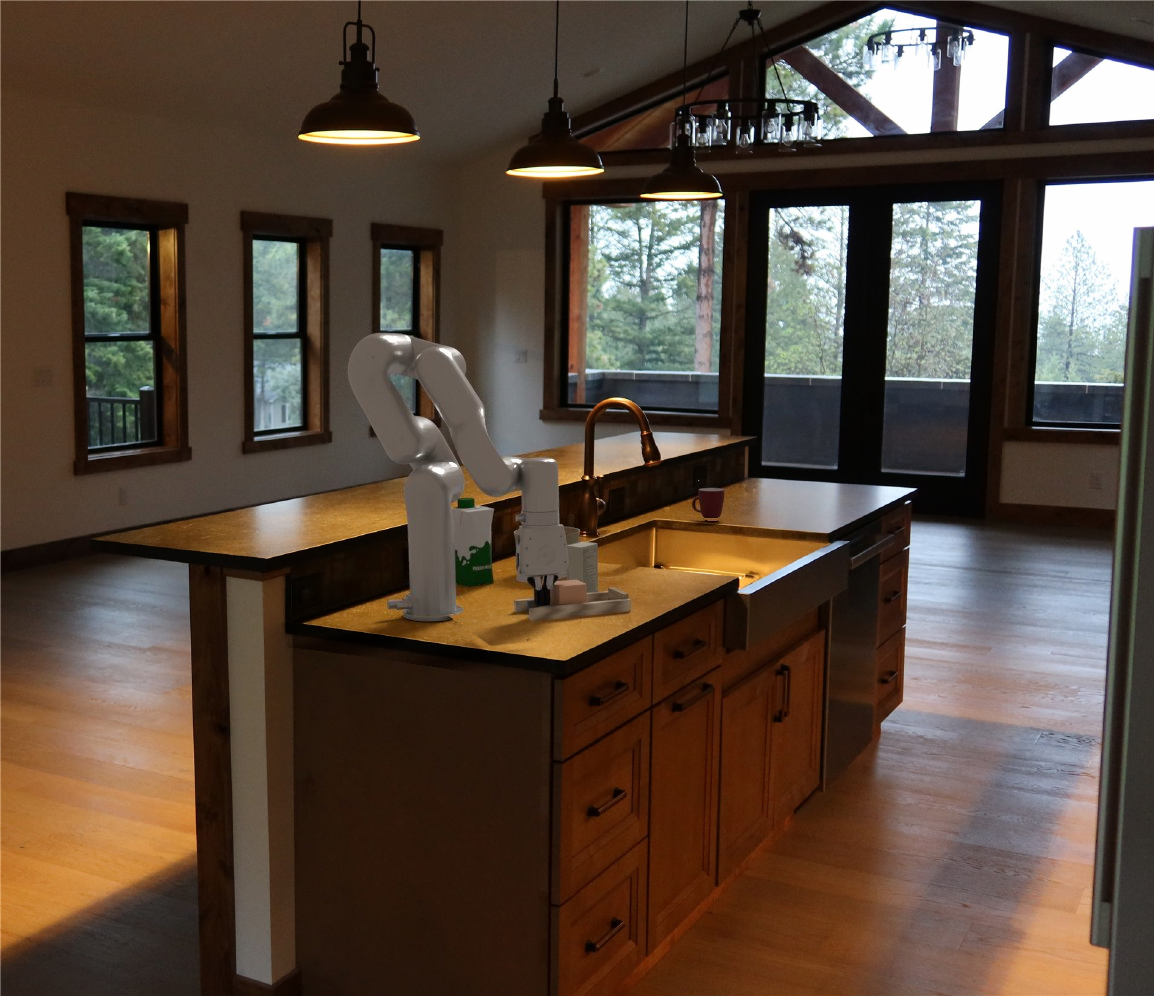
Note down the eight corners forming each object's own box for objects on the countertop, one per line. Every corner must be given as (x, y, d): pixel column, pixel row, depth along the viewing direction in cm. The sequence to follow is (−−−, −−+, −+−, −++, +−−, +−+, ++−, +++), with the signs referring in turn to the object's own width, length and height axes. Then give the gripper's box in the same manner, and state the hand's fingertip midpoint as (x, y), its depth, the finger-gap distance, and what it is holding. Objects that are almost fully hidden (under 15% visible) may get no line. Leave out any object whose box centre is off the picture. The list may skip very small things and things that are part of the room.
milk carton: (476, 578, 292) (475, 496, 290) (499, 583, 286) (498, 499, 283) (446, 583, 287) (444, 499, 284) (469, 589, 280) (467, 503, 277)
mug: (687, 521, 381) (687, 490, 379) (695, 518, 388) (695, 487, 387) (720, 523, 376) (720, 491, 375) (727, 519, 384) (727, 488, 383)
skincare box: (583, 594, 273) (583, 541, 271) (599, 596, 270) (598, 543, 268) (565, 599, 268) (565, 544, 266) (581, 601, 265) (580, 546, 264)
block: (559, 615, 247) (559, 586, 246) (550, 610, 252) (549, 581, 251) (586, 612, 249) (586, 584, 248) (576, 607, 254) (576, 579, 253)
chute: (531, 626, 242) (530, 604, 241) (514, 616, 251) (513, 595, 251) (630, 616, 250) (630, 594, 250) (611, 606, 260) (610, 586, 259)
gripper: (512, 524, 239) (514, 615, 242) (581, 518, 245) (583, 607, 247) (499, 519, 246) (501, 607, 248) (567, 514, 252) (569, 600, 254)
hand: (542, 607), depth 248 cm, fingers closed
